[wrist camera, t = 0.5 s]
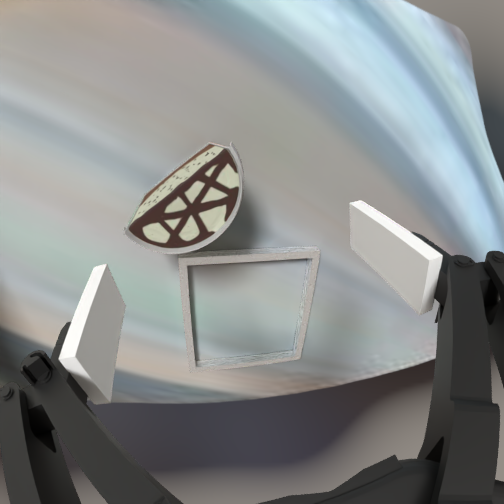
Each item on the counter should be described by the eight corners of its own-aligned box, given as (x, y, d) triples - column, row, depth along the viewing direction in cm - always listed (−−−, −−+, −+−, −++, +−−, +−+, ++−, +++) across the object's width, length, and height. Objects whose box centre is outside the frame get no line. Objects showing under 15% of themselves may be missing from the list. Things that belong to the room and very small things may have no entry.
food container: (168, 239, 36) (166, 284, 27) (134, 202, 33) (119, 237, 24) (252, 176, 35) (276, 202, 26) (220, 133, 32) (235, 144, 23)
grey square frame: (189, 365, 46) (189, 372, 45) (178, 252, 37) (178, 258, 36) (297, 353, 50) (300, 359, 48) (316, 245, 41) (320, 250, 40)
